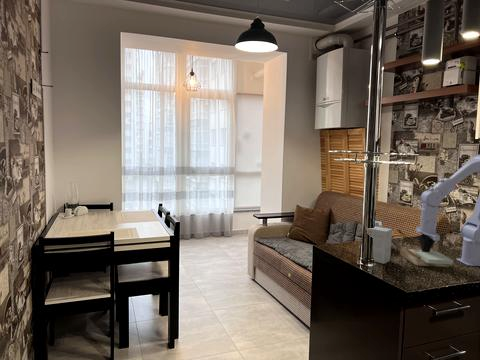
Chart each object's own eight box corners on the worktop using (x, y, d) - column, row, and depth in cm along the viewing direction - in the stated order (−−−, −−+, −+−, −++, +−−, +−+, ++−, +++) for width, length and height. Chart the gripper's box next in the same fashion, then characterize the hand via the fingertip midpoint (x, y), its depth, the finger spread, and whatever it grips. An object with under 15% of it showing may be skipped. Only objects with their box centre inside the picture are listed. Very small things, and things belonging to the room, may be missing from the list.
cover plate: (438, 256, 145) (438, 252, 145) (452, 264, 135) (453, 260, 135) (415, 255, 145) (415, 251, 145) (428, 263, 135) (428, 259, 135)
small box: (390, 261, 144) (392, 229, 143) (383, 264, 140) (386, 231, 138) (370, 256, 150) (372, 225, 149) (363, 259, 145) (366, 227, 144)
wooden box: (430, 255, 154) (431, 247, 154) (449, 266, 140) (450, 258, 140) (400, 254, 154) (401, 246, 154) (416, 265, 140) (417, 256, 140)
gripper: (410, 216, 152) (407, 248, 153) (428, 224, 137) (424, 258, 139) (426, 217, 152) (423, 248, 153) (446, 224, 138) (443, 259, 139)
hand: (425, 253), depth 146 cm, fingers closed
